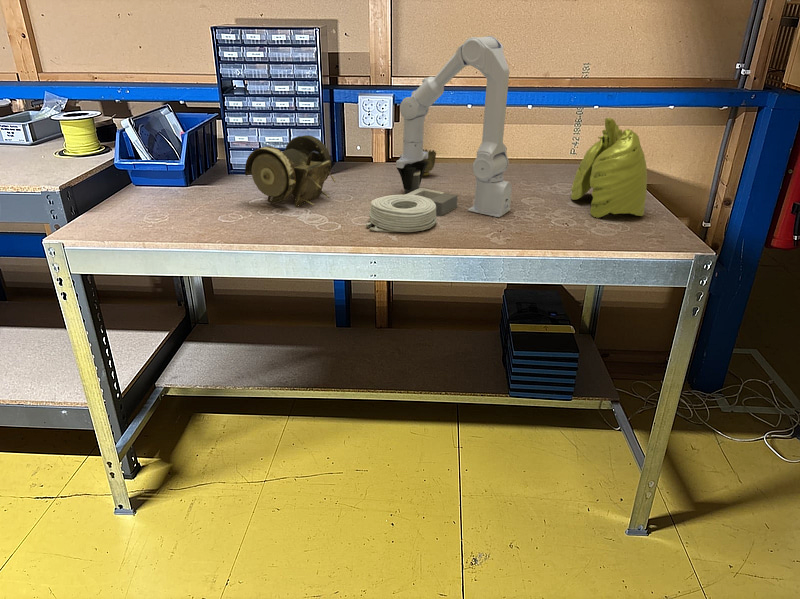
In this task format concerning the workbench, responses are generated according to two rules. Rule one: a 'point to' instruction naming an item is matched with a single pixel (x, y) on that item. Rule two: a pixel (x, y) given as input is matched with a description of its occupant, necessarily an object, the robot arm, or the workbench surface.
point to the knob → (414, 182)
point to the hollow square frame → (438, 199)
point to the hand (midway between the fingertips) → (411, 187)
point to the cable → (402, 213)
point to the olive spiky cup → (429, 162)
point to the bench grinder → (291, 170)
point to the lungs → (613, 173)
